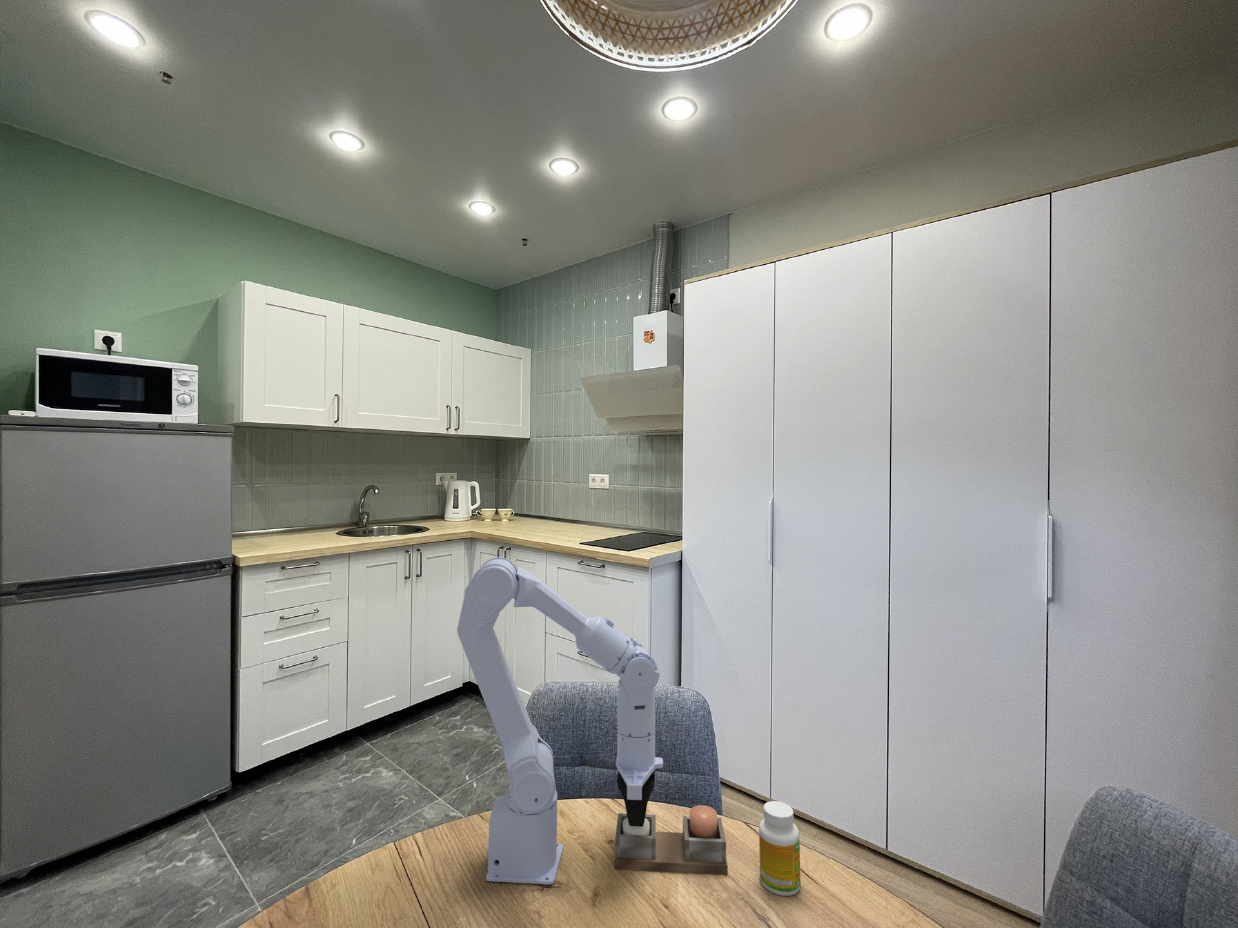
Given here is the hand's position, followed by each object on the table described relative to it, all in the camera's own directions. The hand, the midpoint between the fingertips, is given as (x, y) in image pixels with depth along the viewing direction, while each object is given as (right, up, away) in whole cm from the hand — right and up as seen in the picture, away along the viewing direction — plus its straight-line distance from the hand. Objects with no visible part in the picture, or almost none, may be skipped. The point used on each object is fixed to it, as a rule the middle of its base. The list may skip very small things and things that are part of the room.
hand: (636, 823), depth 77 cm
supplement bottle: (+20, -4, -6) cm, 21 cm away
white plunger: (0, -2, 0) cm, 2 cm away
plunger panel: (+5, -4, -1) cm, 7 cm away
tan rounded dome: (+10, 0, -1) cm, 10 cm away
